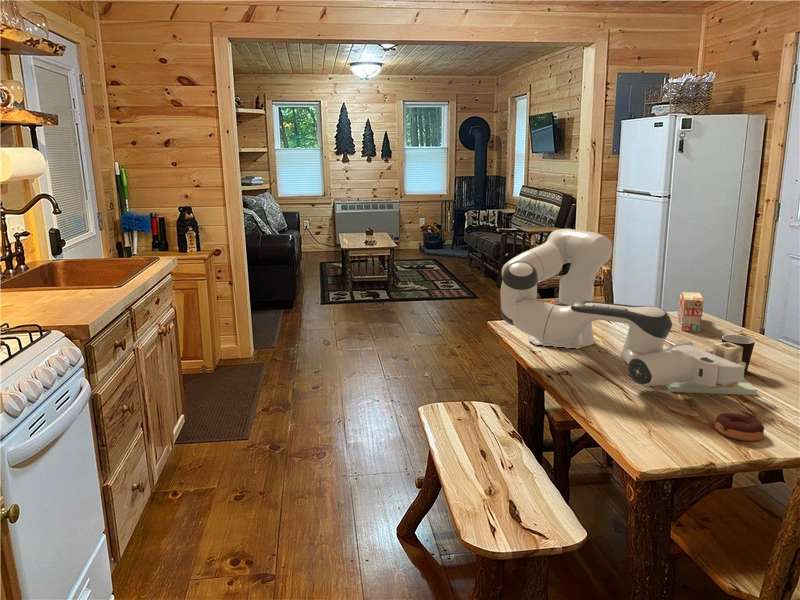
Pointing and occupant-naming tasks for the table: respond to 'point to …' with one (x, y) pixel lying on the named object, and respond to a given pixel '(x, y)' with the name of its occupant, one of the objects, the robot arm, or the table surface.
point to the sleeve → (728, 356)
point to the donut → (739, 426)
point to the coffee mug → (743, 342)
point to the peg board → (713, 388)
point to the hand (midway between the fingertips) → (729, 359)
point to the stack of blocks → (690, 311)
